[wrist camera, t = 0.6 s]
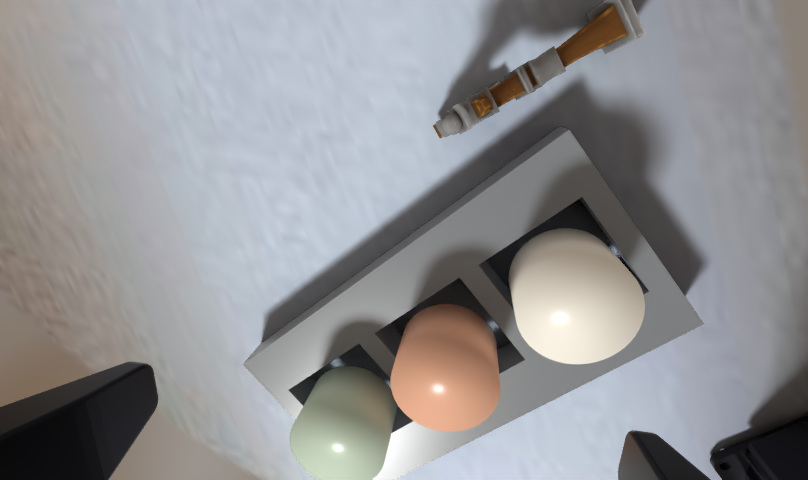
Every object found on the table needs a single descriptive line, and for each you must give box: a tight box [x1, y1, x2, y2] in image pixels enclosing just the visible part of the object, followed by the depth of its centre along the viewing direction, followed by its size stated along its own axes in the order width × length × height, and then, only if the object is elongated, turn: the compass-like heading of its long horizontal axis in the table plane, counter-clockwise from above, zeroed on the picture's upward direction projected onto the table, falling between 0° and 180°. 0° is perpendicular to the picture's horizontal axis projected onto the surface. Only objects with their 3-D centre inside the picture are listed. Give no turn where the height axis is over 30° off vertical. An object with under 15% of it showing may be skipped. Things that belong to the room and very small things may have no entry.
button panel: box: [243, 126, 704, 480], centre depth 21 cm, size 10×19×2 cm, turn 129°
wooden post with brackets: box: [433, 0, 646, 138], centre depth 17 cm, size 2×8×4 cm, turn 121°
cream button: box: [509, 228, 645, 364], centre depth 17 cm, size 4×4×3 cm
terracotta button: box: [391, 304, 500, 432], centre depth 19 cm, size 4×4×3 cm
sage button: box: [290, 366, 397, 480], centre depth 21 cm, size 4×4×3 cm
